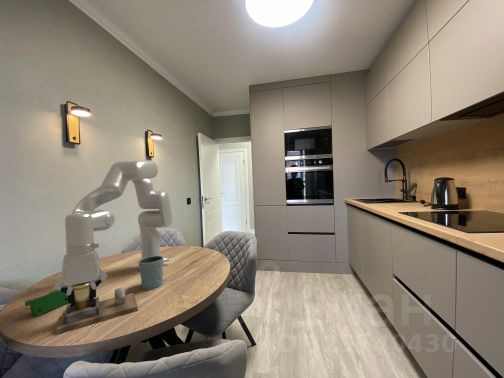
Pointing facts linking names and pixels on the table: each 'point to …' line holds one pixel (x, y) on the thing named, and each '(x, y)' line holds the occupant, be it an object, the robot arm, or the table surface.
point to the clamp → (47, 302)
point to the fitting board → (97, 311)
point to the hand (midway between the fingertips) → (82, 301)
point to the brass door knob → (82, 296)
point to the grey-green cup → (151, 272)
